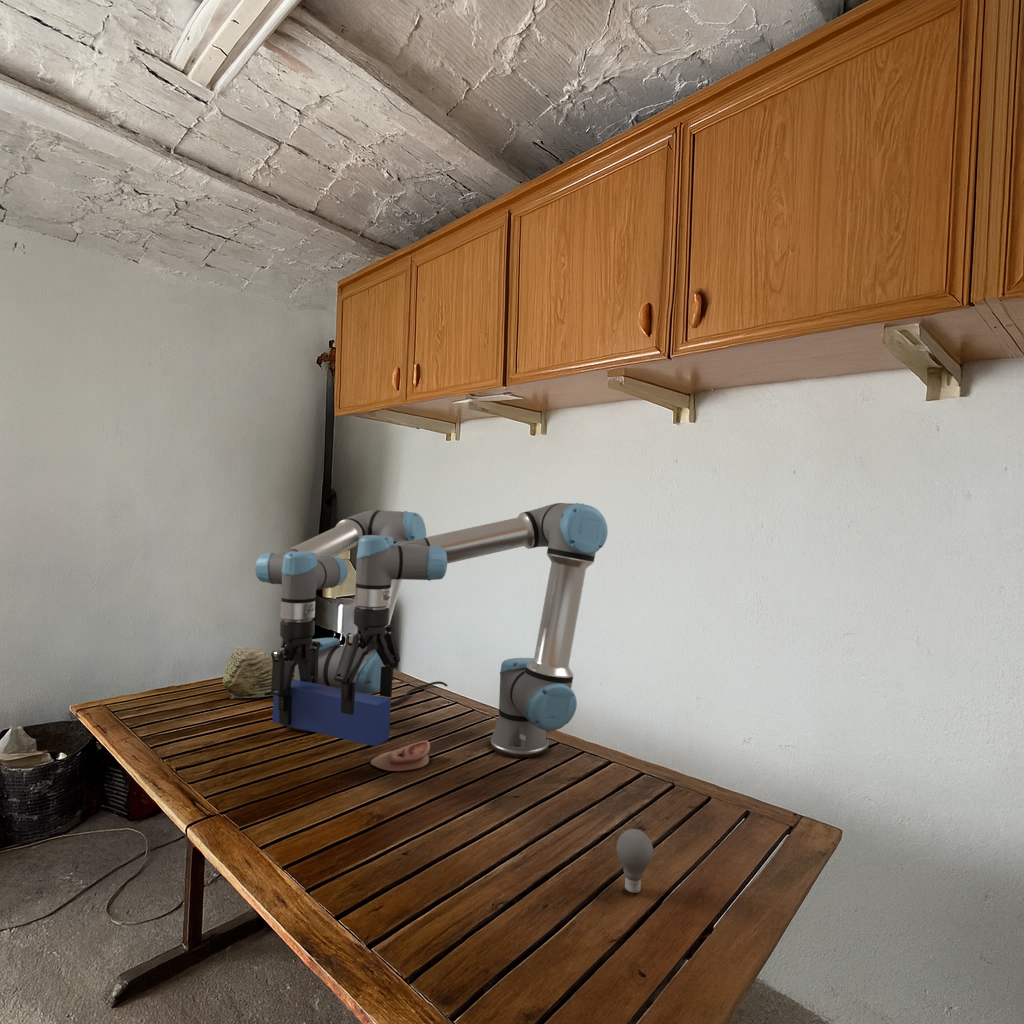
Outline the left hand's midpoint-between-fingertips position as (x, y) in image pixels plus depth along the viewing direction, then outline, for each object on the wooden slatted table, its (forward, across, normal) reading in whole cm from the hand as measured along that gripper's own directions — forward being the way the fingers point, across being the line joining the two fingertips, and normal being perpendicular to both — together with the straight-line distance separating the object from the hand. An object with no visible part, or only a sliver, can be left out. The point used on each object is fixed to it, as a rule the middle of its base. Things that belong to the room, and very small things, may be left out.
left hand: (294, 719), depth 146 cm
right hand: (-7, 0, -20) cm, 21 cm away
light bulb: (+12, -8, -81) cm, 82 cm away
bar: (+1, 0, -10) cm, 10 cm away
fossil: (+12, +36, +48) cm, 61 cm away
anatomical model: (+12, +16, -19) cm, 27 cm away
